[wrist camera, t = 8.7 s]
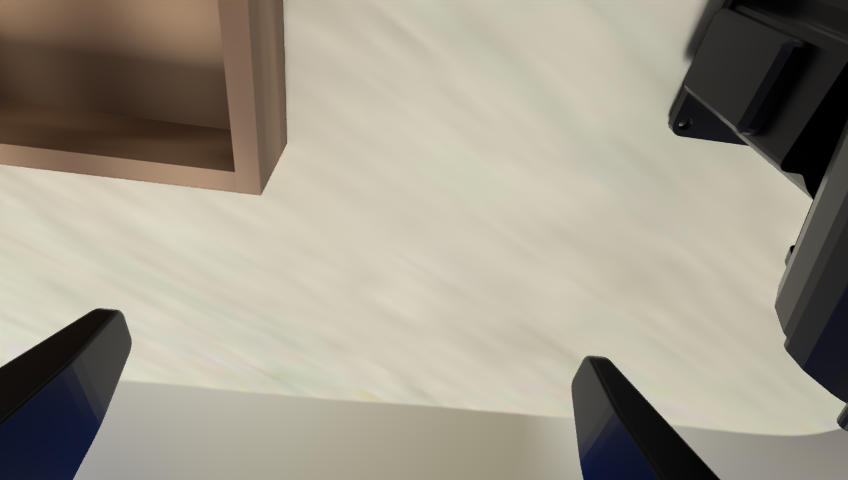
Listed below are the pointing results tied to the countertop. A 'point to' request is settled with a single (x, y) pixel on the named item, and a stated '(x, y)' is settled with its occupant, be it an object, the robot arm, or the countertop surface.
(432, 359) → the countertop surface
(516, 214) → the countertop surface
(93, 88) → the compartment tray
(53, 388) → the robot arm
